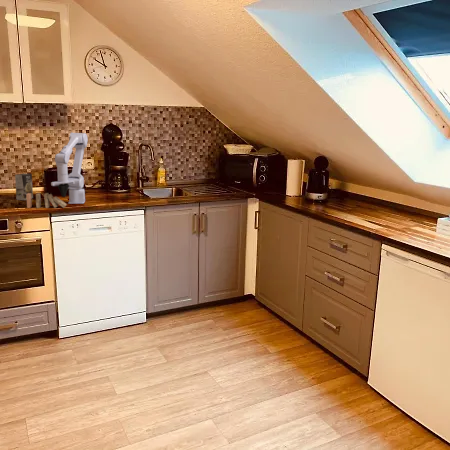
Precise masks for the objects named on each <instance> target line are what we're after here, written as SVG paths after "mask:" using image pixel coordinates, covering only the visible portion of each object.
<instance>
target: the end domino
mask: <svg viewBox="0 0 450 450" xmlns="http://www.w3.org/2000/svg"><path fill="white" fill-rule="evenodd" d="M26 196H27V200H26V209H30V208H32V207H33V200H32V199H33V198H31V193H28V194H26Z"/></svg>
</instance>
